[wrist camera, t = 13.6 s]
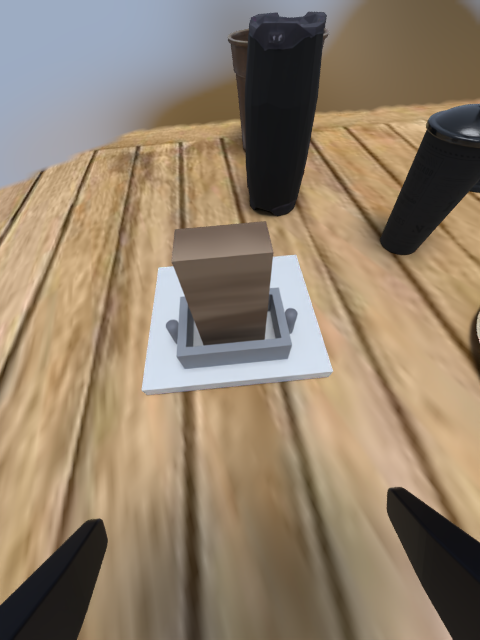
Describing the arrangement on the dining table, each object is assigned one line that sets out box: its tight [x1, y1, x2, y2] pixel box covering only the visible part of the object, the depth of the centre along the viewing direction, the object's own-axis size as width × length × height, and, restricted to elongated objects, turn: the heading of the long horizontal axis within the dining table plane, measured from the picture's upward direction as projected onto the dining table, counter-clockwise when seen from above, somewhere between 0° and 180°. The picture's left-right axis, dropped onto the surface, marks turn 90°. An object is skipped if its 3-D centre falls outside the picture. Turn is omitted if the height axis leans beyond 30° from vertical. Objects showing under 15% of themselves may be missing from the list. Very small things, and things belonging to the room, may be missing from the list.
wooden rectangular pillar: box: [172, 221, 273, 345], centre depth 20 cm, size 4×6×12 cm, turn 95°
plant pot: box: [228, 28, 329, 150], centre depth 45 cm, size 16×16×16 cm
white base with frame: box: [142, 255, 333, 395], centre depth 26 cm, size 16×18×4 cm
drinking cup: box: [380, 104, 480, 255], centre depth 25 cm, size 8×8×20 cm
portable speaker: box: [245, 12, 327, 216], centre depth 32 cm, size 9×9×20 cm
